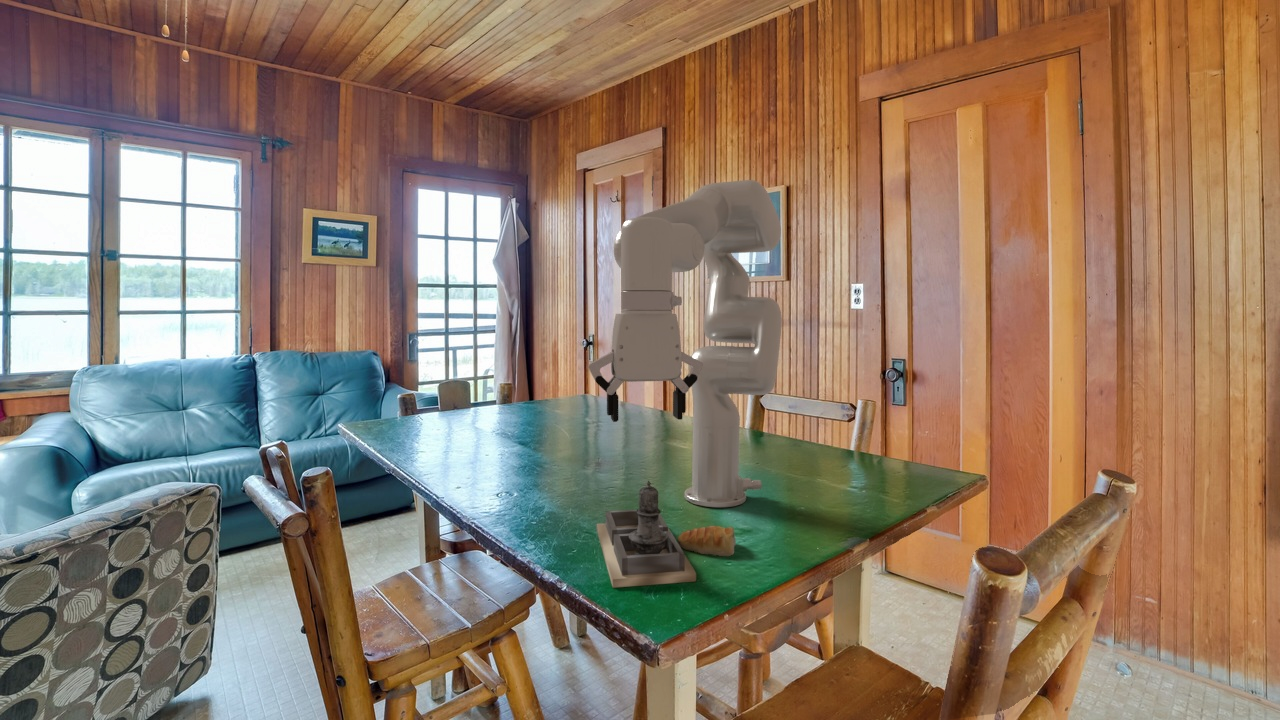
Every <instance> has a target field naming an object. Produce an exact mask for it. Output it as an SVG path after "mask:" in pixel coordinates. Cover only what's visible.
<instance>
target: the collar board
mask: <svg viewBox="0 0 1280 720" xmlns="http://www.w3.org/2000/svg"><path fill="white" fill-rule="evenodd" d="M636 511H637V509H623V510H606V511H605V523H603V522H602V523H596V532H597V537H598V540H599V544H600V547H601V550H602V555H603V558H604V562H605V565H606V569H607V573H608V576H609V579H610V583H611V586H612V587H611V588H612V589H613V588H615V589H616V588H624V587H625V588H626V587H638V586H639V587H641V586H654V585H665V584H677V583H679V584H680V583H692V582H696V581H697V572H696V571H695V569H694V567H693V565H692V564H691V562H690V560H689V559H688V558H687V555H686V554H685V552H684V550H683V548H682V547H681V546H680V545H679V543H678V540H677V539H676V537H675V536H674V534H673V532H672V531H671V529H670V528H669V527H668V525H667V522H666V521H665V519H664V518H663V516H662V514H661V513H660V514H659V529H660V530H661V531H663V532H665V533H666V534H667V535H668V539H667V540H666V544H665V546H664V549H663V550H662V551H661V552H660V553H661V554H645V555H633V554H635V553H636V551H635V550H634V549H633V547H632V544H631V540H630V539H629V534H630V533H631V532H633V531H635V530H637V528H638V513H637V512H636Z"/></svg>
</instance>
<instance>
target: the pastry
mask: <svg viewBox="0 0 1280 720" xmlns="http://www.w3.org/2000/svg"><path fill="white" fill-rule="evenodd" d="M677 542H678V544H679V546H680V547H681V549H682V550H683V549H684V550H685V551H691V552H693V551H694V552H693V553H697V552H698V553H697V554H701V555H708V554H713V555H712V556H716V555H719V556H718V557H732V556H733V555H734V553H735V546H736V542H737V541H736V537H735V530H734V528H733V527H732V526H728V527H722V526H719V525H708V526H707V527H705V526H702V527H699V528H697V527H696V528H693V529H691V530H690V529H689V530H685V531H683V532H681V534H680V535H678V537H677ZM731 555H732V556H731Z"/></svg>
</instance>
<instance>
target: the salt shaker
mask: <svg viewBox="0 0 1280 720" xmlns="http://www.w3.org/2000/svg"><path fill="white" fill-rule="evenodd" d="M636 510H637V511H636V512H637V513H638V528H637V530H635V531H633V532H631V533H630V534H629V539H630V540H631V544H632V547H633V549H634V550H635V551H636V553H635V554H633V555H645V554H661V553H660V552H661V551H662V550H663V549H664V546H665V544H666V540H667V539H668V535H667V534H666V533H665V532H663V531H661V530H660V529H659V514H660V515H661V511H662V510H661V509H660V508H659V491H658V490H657V488H656V487H654V486H652V483H651V481H650V480H648V481H647V482H646V485H645V486H643V487H641V488H640V490H639V492H638V509H636Z"/></svg>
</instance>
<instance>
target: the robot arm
mask: <svg viewBox="0 0 1280 720" xmlns="http://www.w3.org/2000/svg"><path fill="white" fill-rule="evenodd" d="M781 235H782V228H781V222H780V218H779V215H778V212H777V210H776V209H775V206H774V203H773V200H772V199H771V195H770V194H769V193H768V191H767V189H766V188H765V186H764V185H762V184H761V183H760V181H756V180H753V179H746V180H732V181H722V182H721V181H720V182H713V183H708V184H705V185H703V186H701V187H699V188H698V189H696V191H695V192H693V193H692V194H691V195H689V196H688V197H687V198H685V199H684V200H683V201H679V202H676V203H672V204H669V205H667V206H665V207H662V208H661V207H660V208H658V209H656V210H652V211H649V212H646V213H643V214H641V215H639V216H636V217H632V218H630V219H627V220H625V221H624V222H623V223H622V225H621V229H620V230H619V231H618V233H617V234H616V236H615V240H614V243H613V257H614V259H615V262H616V264H617V265H618V267H619V268H620V278H621V279H620V280H621V281H620V283H621V284H620V285H621V288H620V290H621V293H620V295H621V296H620V298H621V299H620V301H621V302H620V307H621V308H620V310H621V311H620V313H615V316H614V319H613V320H614V321H613V328H612V335H611V351H610V352H609V353H607V354H605V355H603V356H601V357H599V358H597V359H595V360H594V361H592V362H590V363H589V364H588V365H587V368H588V370H589V372H590V374H591V376H592V377H593V379H594V381H595V383H596V384H597V385H598V386H599V387H600V388H601V389H602V390H604V391H605V393H606V413H607V414H606V415H607V416H610V419H611V421H612V422H613V423H616V422H617V423H618V421H619V395H618V394H617V390H618V389H619V388H620V387H621V385H623V383H624V382H626V383H627V382H630V383H631V382H632V383H633V382H636V383H637V382H666V381H667V382H668V381H669V382H671V383H672V385H673V386H674V387H675V388H674V390H673V392H672V416H673V417H674V418H675V419H677V420H683V414H685V413H686V411H687V409H686V408H687V404H686V403H687V400H686V399H687V397H686V396H687V395H686V394H687V393H688V392H689V389H690V388H691V392H692V394H691V395H692V462H691V463H692V465H691V466H692V467H691V468H692V469H691V470H692V471H691V473H692V478H691V486H690V487H688V488H686V489H685V490H684V499H685V500H686V501H688V502H689V503H691V504H694V505H698V506H701V507H708V508H730V507H736V506H739V505H741V504H744V503H745V502H746V500H747V493H746V492H747V490H752V491H753V490H761V489H762V485H763V484H762V480H761V479H753V480H752V479H751V478H750V477H749V478H748V477H747V478H743V477H741V476H740V474H739V473H740V469H739V468H740V430H741V429H740V427H741V426H740V425H741V422H740V421H741V415H740V412H739V409H738V407H737V406H736V404H735V402H734V401H733V400H732V397H730V395H747V396H749V395H750V396H765V395H768V394H770V393H771V392H772V391H773V390H774V388H775V385H776V381H777V373H778V366H779V365H778V364H779V355H780V347H781V335H782V325H783V324H782V312H781V307H780V305H779V303H778V302H777V301H776V300H775V299H773V298H770V297H765V296H749V289H750V275H749V273H748V272H747V271H746V269H745V268H744V266H743V265H742V264H741V262H739V261H738V260H737V259H736V258H735V257H734V256H733V254H738V253H739V254H743V253H747V254H748V253H765V252H766V253H767V252H770V251H772V250H774V249H775V248H776V247H777V246H778V245H779V242H780V240H781ZM703 260H704V262H705V265H706V268H707V272H708V288H707V295H706V302H705V308H704V309H705V310H704V315H703V332H704V335H705V337H706V338H707V339H708V340H710V341H713V342H717V343H729V344H752V345H753V344H754V346H733V345H708V346H707V345H706V346H702V347H699V348H698V349H696V350H695V351H694V352H693V353H691V355H689V354H687V353H685V352H684V351H682V346H681V345H682V344H681V335H680V327H679V322H678V317H677V314H676V313H673V311H674V308H675V307H677V306H682V303H683V301H682V300H683V298H682V296H677V295H675V294H674V291H673V273H686V272H690V271H692V270H694V269H696V268H698V266H699V265H700V264H701V262H702V261H703ZM683 363H685V364H686V365H688V371H689V373H688V374H687V375H685V377H684V378H681V375H682V371H683V370H682V369H683V367H682V366H683ZM609 364H610V371H611V375H612V377H611V378H610V380H609V381H608V380H607V379H605V378H604V377H603V375H602V373H601V369H602V368H604V367H606V366H607V365H609Z"/></svg>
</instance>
